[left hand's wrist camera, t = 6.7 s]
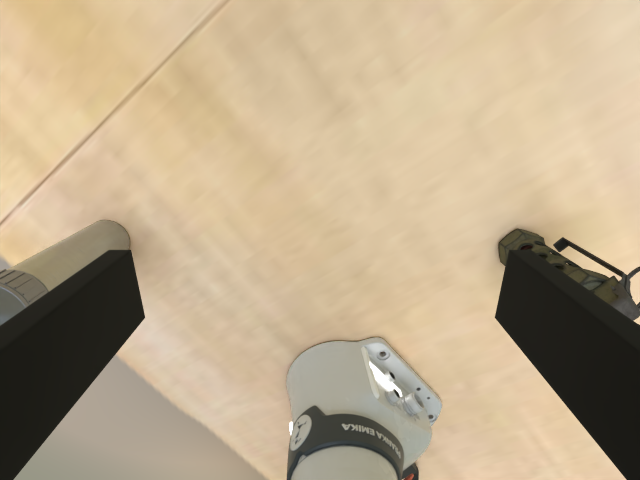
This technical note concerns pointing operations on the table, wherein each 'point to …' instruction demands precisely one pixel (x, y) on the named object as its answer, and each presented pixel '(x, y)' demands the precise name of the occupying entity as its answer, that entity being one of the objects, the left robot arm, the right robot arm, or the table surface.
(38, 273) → the metal thermos flask
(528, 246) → the grenade
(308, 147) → the table surface
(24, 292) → the lid
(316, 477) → the right robot arm
